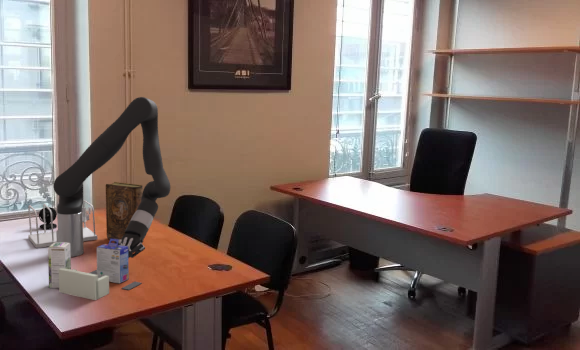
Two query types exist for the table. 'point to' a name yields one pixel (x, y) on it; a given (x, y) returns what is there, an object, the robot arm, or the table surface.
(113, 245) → the ink cartridge box
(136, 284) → the pad
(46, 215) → the webcam
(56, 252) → the syrup box
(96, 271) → the pad
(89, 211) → the architectural model
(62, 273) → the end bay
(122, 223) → the book
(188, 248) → the table surface
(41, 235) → the file sorter
